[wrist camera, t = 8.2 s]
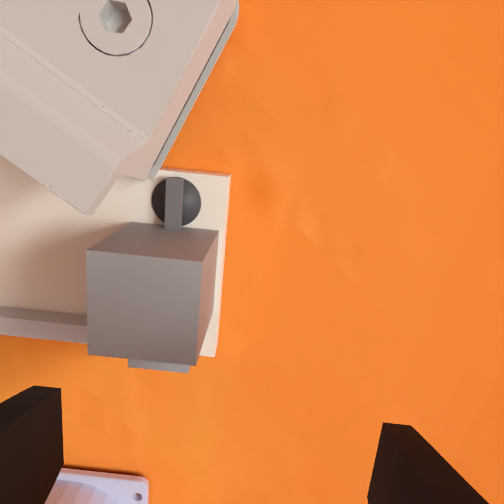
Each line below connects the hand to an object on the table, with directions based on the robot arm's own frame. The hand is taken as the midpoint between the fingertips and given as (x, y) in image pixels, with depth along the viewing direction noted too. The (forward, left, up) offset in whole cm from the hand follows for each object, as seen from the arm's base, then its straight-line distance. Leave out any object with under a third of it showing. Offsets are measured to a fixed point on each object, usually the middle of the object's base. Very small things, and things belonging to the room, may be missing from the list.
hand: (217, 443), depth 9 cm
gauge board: (+1, +12, -10) cm, 16 cm away
